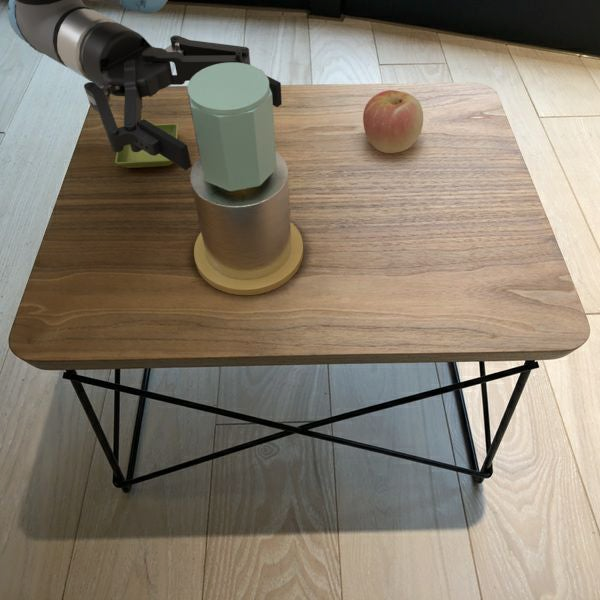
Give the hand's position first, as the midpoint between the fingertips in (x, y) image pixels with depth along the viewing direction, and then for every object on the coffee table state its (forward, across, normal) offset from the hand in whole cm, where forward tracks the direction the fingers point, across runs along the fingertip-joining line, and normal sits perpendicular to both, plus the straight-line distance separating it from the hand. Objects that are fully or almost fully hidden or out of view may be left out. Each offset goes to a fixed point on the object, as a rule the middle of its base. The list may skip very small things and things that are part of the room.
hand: (235, 125), depth 64 cm
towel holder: (0, 0, -20) cm, 20 cm away
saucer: (-25, -5, -20) cm, 33 cm away
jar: (0, 0, -5) cm, 5 cm away
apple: (+1, -30, -20) cm, 36 cm away
